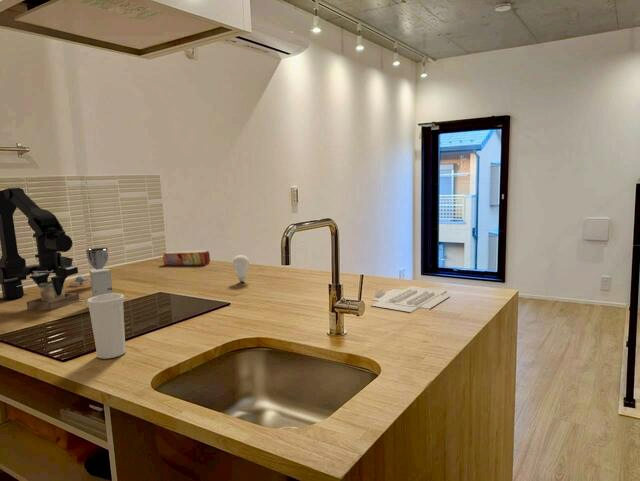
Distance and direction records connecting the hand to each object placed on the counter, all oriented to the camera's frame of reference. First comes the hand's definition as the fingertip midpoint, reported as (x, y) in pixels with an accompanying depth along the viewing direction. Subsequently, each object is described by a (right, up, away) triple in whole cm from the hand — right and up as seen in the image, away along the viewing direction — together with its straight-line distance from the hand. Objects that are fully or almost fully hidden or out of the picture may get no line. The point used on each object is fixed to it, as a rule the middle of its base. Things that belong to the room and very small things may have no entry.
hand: (52, 294), depth 156 cm
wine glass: (+3, 0, +27) cm, 28 cm away
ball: (-6, +1, +29) cm, 29 cm away
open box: (0, -4, +1) cm, 4 cm away
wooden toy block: (0, -2, 0) cm, 2 cm away
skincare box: (+18, -3, -1) cm, 19 cm away
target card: (+7, -2, +9) cm, 11 cm away
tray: (+122, -1, -8) cm, 123 cm away
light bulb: (+62, +2, +24) cm, 66 cm away
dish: (-6, 0, +29) cm, 29 cm away
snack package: (+27, +7, +66) cm, 72 cm away
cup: (+42, -9, -47) cm, 64 cm away
